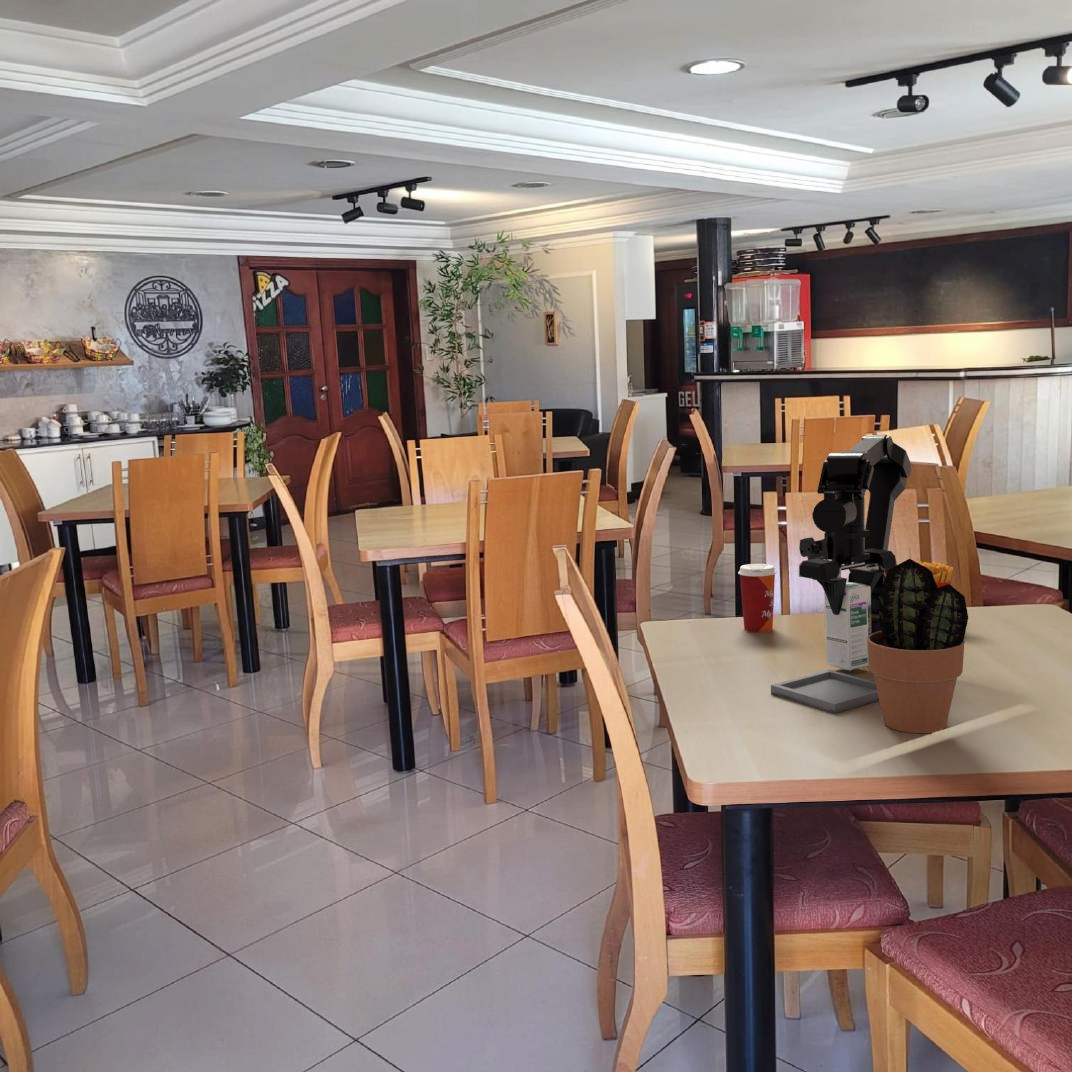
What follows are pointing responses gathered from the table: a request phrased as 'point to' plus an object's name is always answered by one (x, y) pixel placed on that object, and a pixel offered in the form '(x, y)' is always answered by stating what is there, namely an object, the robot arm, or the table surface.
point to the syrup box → (849, 628)
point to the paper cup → (757, 596)
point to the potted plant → (917, 648)
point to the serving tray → (828, 691)
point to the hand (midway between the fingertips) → (848, 612)
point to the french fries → (936, 567)
